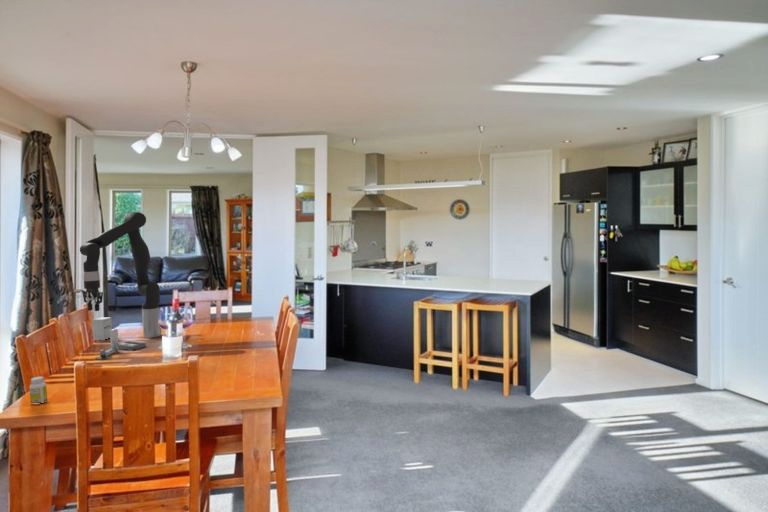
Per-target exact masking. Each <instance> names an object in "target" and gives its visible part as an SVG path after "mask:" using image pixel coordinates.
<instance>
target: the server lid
mask: <svg viewBox="0 0 768 512" xmlns="http://www.w3.org/2000/svg"><path fill="white" fill-rule="evenodd" d="M118 345H119V348H120V349H119V350H123V349H128V350H127V351H131V350H132V351H135V350H134V349H136V350H140V349H143V348H146V347H147V344H146V343H145V342H138V341H133V340H132V341H129V340H127V341H124V342H118ZM139 348H140V349H139Z"/></svg>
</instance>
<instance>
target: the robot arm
mask: <svg viewBox="0 0 768 512" xmlns="http://www.w3.org/2000/svg"><path fill="white" fill-rule="evenodd" d="M146 222H147V218H146V215H145V214H143V213H142V212H139V211H135V212H134V211H133V212H132V211H131V212H127V213H126V214H125V215H124V216H123V223H121V224H119V225H116V226H115V227H112V228H109V229H107V230H106V231H104V232H103V233H100V234H99V235H97V236H96V237H94V238H91V239H89V240H87V241H86V242H83V244H81V245H80V246H79V251H80V252H79V253H80V254H81V255H82V256H85V257H86V260H84V261H83V289H85V290H84V291H82V294H81V295H82V299H83V302H84V303H85V304H87V310H88V311H93V303H94V312H99V311H100V304H102V303H103V299H104V298H103V297H104V292H103V291H100V290H99V289H101V279H100V271H99V262H100V256H101V249H102V248H106V247H108V246H110V245H111V244H113V243H115V242H116V241H117V240H118V239H120V238H122V237H123V236H125V235H127V237H128V240H129V245H130V249H131V255H132V259H133V263H134V269H135V270H134V271H135V274H136V283H137V291H138V294H139V295H140V296H141V297H144V298H145V302H143V303H142V304H141V313H142V314H141V316H142V317H141V318H142V334H143V338H144V339H145V338H146V339H147V338H148V339H150V338H152V339H153V338H158V337H160V336H162V327H161V328H160V326H159V325H158V315H159V316H160V308H159V307H160V306H159V305H160V302H161V294H160V293H161V289H160V285H159V284H158V282H155V281H150V278H149V277H150V276H149V269H150V264H151V254H150V249H149V247H148V245H147V243H146V242H145V240H144V239H143V237H142V235H141V232H140V228H143V227H144V226H145V225H146Z"/></svg>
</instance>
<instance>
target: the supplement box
mask: <svg viewBox="0 0 768 512" xmlns="http://www.w3.org/2000/svg"><path fill="white" fill-rule="evenodd" d="M112 323H113V322H112V317H111V316H110V317H107V316H106V317H97V318H93V319H92V337H93V341H99V340H104V341H106V340H105V339H107V340H109V339H108V338H110V330H112V329H113V324H112ZM99 342H100V341H99Z"/></svg>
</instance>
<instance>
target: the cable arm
mask: <svg viewBox="0 0 768 512" xmlns="http://www.w3.org/2000/svg"><path fill="white" fill-rule="evenodd" d="M109 340H110V348H109V349H107V350H106V349H100V350H99V354H100V356H99V357H106V356H109V355H110V356H111V355H112V354H114V353H115V352H119V350H120V349H119V345H118V344H119V329H118V328H112V330H110V339H109Z"/></svg>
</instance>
